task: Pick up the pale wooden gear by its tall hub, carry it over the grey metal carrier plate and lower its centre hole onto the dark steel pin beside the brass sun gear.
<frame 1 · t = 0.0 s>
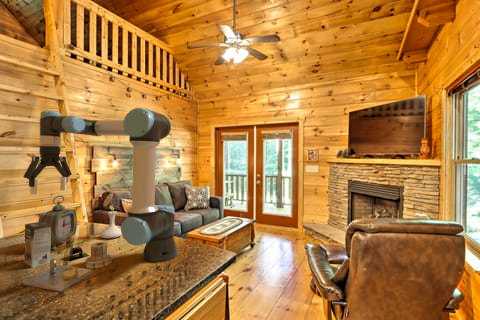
hand: (49, 192, 112), 28 cm above the counter, tool pointing down, fingers open, 13 cm apart
tabletop clock: (57, 246, 122), on the counter
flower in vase: (111, 237, 137), on the counter
coffee box: (37, 263, 103), on the counter
black piece: (75, 259, 109), on the counter
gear: (98, 263, 104), on the counter
carrier: (59, 278, 90), on the counter
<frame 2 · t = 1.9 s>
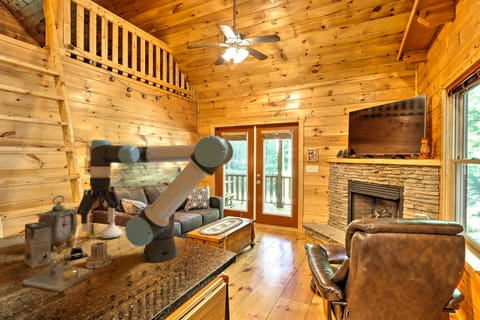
hand: (99, 226, 104), 15 cm above the counter, tool pointing down, fingers open, 13 cm apart
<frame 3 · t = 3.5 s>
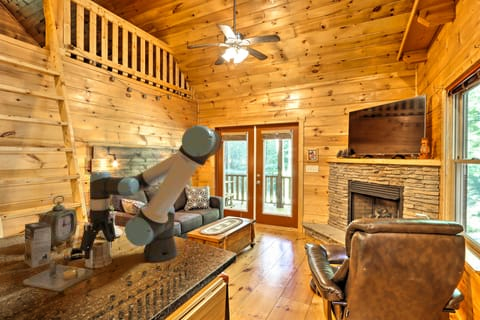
hand: (98, 261, 104), 1 cm above the counter, tool pointing down, fingers closed on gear, 9 cm apart
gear: (98, 263, 104), on the counter, touching gripper
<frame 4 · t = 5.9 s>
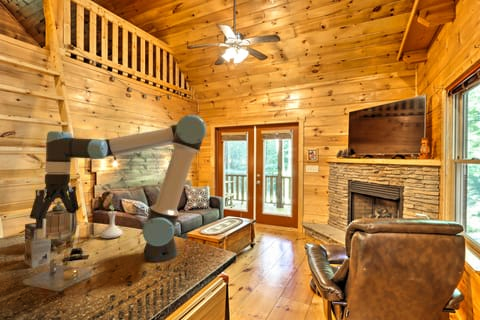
hand: (55, 233, 91), 16 cm above the counter, tool pointing down, fingers closed on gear, 9 cm apart
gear: (55, 235, 91), point 15 cm above the counter, touching gripper
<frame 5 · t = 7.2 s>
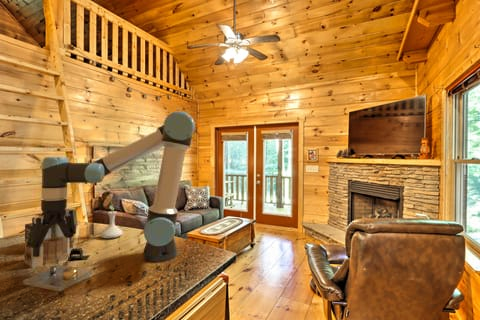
hand: (52, 259, 91), 7 cm above the counter, tool pointing down, fingers closed on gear, 9 cm apart
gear: (52, 261, 91), point 6 cm above the counter, touching gripper
when the fingers open (4 cm above the counter, at t = 8.3 s): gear drops 2 cm, resting on carrier.
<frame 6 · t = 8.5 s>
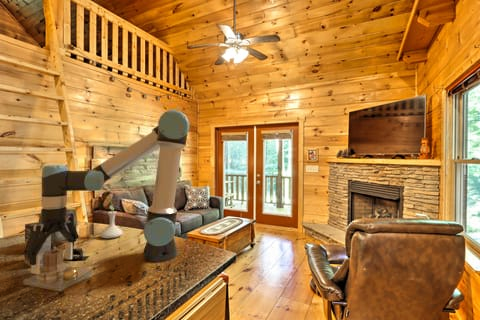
hand: (53, 265, 91), 5 cm above the counter, tool pointing down, fingers open, 12 cm apart
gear: (52, 273, 91), point 1 cm above the counter, touching carrier
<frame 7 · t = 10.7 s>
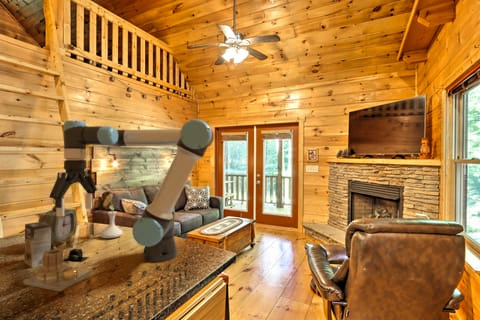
hand: (75, 212, 99), 22 cm above the counter, tool pointing down, fingers open, 13 cm apart
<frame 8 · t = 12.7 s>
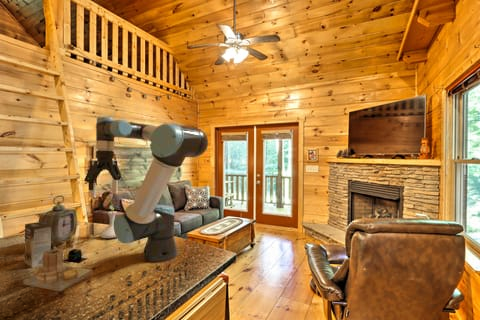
hand: (104, 195, 116), 27 cm above the counter, tool pointing down, fingers open, 13 cm apart
at the end: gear 0.1 cm from the target spot on the carrier, point 1.5 cm above the carrier's base; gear tilted 0°; the gripper is holding nothing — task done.
